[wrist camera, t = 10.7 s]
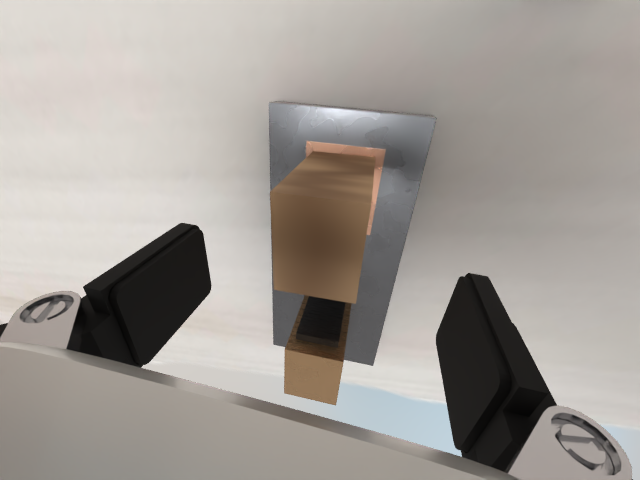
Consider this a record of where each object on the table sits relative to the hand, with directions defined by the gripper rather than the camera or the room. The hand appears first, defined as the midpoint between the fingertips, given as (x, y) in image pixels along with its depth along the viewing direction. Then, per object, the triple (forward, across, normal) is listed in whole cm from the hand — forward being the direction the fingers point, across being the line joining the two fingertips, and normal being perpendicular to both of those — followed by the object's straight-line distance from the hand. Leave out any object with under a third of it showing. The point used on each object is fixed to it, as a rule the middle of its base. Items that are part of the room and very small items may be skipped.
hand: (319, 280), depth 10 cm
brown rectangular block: (+10, +1, 0) cm, 10 cm away
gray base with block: (+12, +1, +6) cm, 13 cm away
